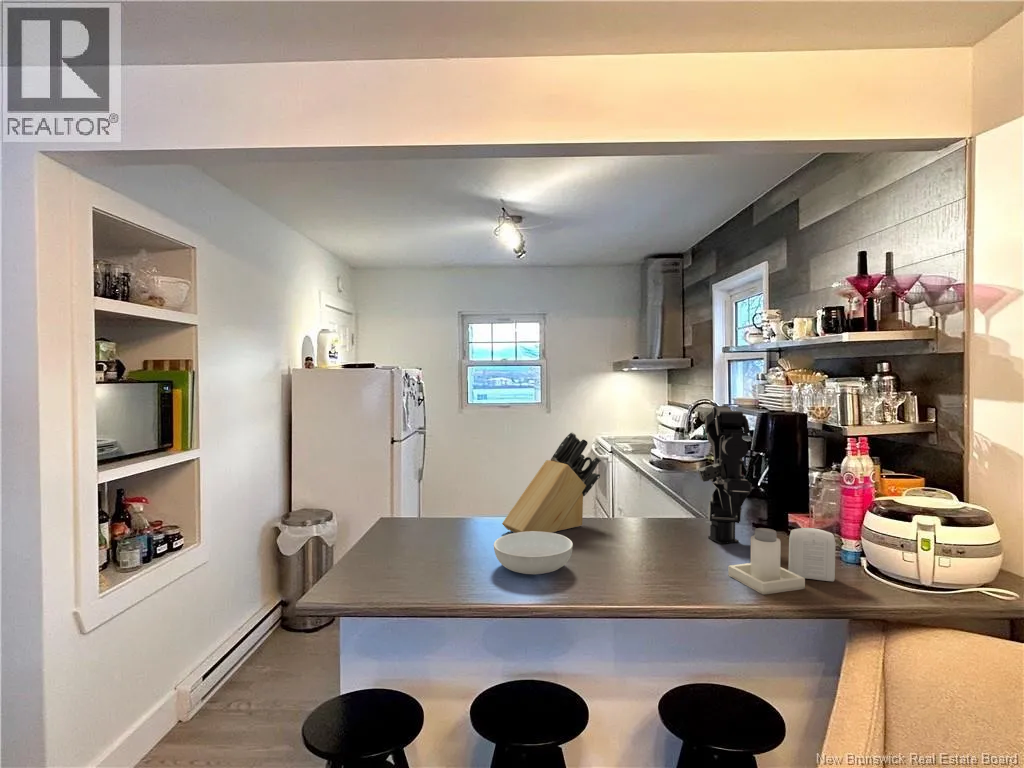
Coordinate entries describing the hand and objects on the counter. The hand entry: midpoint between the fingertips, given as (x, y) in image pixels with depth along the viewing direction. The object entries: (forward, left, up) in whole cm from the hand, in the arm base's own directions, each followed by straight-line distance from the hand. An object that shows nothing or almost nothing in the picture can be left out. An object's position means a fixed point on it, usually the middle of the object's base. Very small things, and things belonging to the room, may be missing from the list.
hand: (729, 512), depth 146 cm
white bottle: (+3, +17, -12) cm, 21 cm away
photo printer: (-10, +18, -13) cm, 24 cm away
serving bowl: (+55, -8, -13) cm, 57 cm away
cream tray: (+3, +17, -13) cm, 21 cm away
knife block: (+37, -41, -13) cm, 56 cm away
